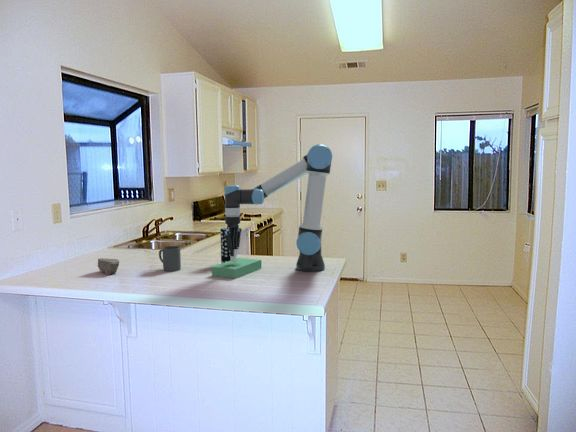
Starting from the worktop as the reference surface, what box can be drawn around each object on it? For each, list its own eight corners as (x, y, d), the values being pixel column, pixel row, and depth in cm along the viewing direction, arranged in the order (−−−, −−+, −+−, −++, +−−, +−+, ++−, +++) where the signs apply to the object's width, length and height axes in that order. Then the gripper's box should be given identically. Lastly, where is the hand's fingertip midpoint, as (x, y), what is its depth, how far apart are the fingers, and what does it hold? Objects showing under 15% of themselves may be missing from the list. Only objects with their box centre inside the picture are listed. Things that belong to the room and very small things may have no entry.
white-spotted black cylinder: (233, 266, 251) (232, 229, 249) (219, 265, 253) (218, 229, 251) (238, 262, 259) (237, 227, 257) (224, 262, 261) (223, 227, 259)
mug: (184, 268, 245) (183, 246, 244) (172, 272, 237) (171, 249, 236) (165, 266, 252) (165, 244, 251) (153, 269, 244) (152, 247, 243)
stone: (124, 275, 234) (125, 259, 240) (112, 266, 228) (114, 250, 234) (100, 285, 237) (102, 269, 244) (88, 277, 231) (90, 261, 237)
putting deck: (261, 268, 245) (261, 259, 244) (235, 278, 223) (235, 269, 222) (239, 266, 251) (239, 257, 251) (212, 275, 229) (211, 266, 228)
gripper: (233, 214, 238) (234, 259, 241) (218, 216, 227) (220, 263, 229) (245, 215, 235) (246, 260, 237) (231, 217, 223) (232, 265, 226)
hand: (233, 262), depth 233 cm, fingers closed
